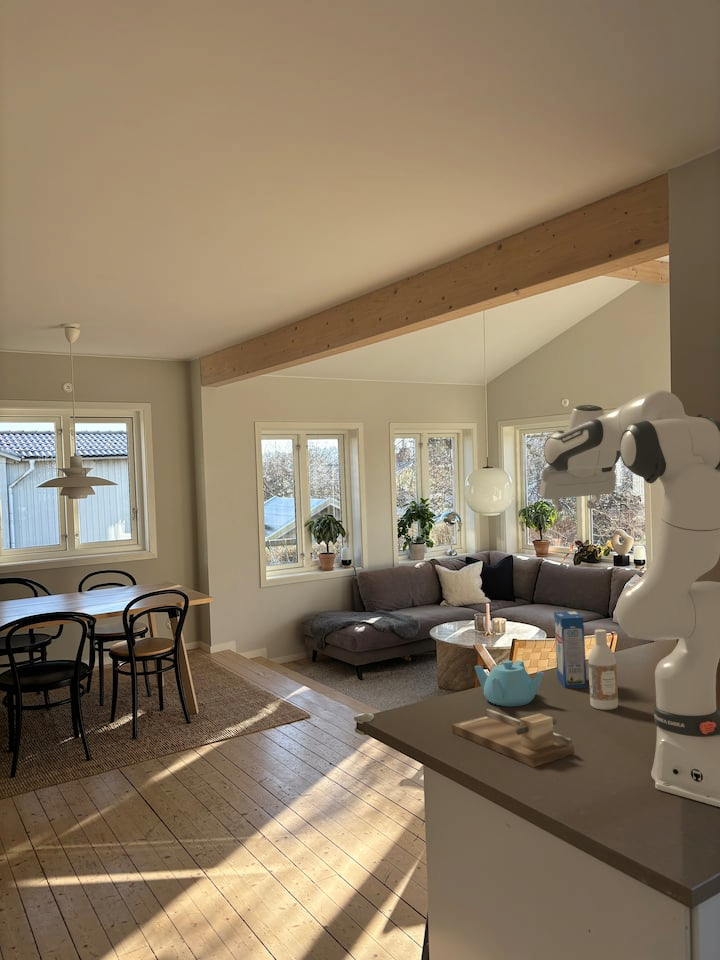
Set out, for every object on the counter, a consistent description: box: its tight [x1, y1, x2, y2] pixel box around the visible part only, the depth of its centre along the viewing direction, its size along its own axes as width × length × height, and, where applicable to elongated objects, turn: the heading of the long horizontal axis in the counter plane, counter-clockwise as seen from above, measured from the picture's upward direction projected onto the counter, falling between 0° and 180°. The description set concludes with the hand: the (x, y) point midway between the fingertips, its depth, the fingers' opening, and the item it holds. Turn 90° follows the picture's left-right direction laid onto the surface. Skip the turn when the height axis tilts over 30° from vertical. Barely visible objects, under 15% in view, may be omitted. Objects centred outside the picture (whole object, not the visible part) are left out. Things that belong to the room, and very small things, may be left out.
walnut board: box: [451, 708, 575, 768], centre depth 176 cm, size 28×12×4 cm, turn 31°
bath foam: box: [587, 628, 619, 711], centre depth 200 cm, size 7×7×20 cm
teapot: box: [474, 660, 545, 707], centre depth 209 cm, size 15×15×11 cm
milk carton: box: [553, 610, 588, 689], centre depth 223 cm, size 10×6×20 cm, turn 178°
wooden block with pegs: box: [516, 712, 558, 751], centre depth 169 cm, size 4×11×6 cm, turn 121°
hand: (574, 509), depth 206 cm, fingers open, 8 cm apart
